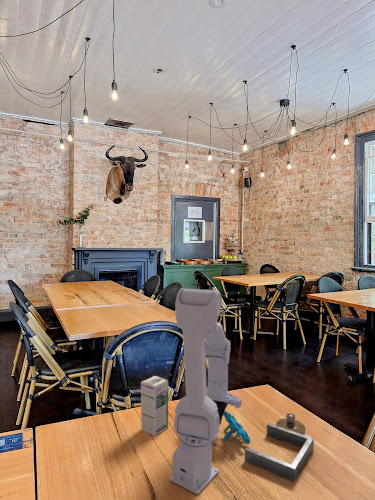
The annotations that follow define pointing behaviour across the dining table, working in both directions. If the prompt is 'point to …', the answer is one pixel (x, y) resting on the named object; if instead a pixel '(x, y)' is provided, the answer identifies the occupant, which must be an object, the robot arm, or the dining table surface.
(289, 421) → the call bell
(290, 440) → the frame
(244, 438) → the gear
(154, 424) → the syrup box
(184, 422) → the robot arm
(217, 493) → the dining table surface
